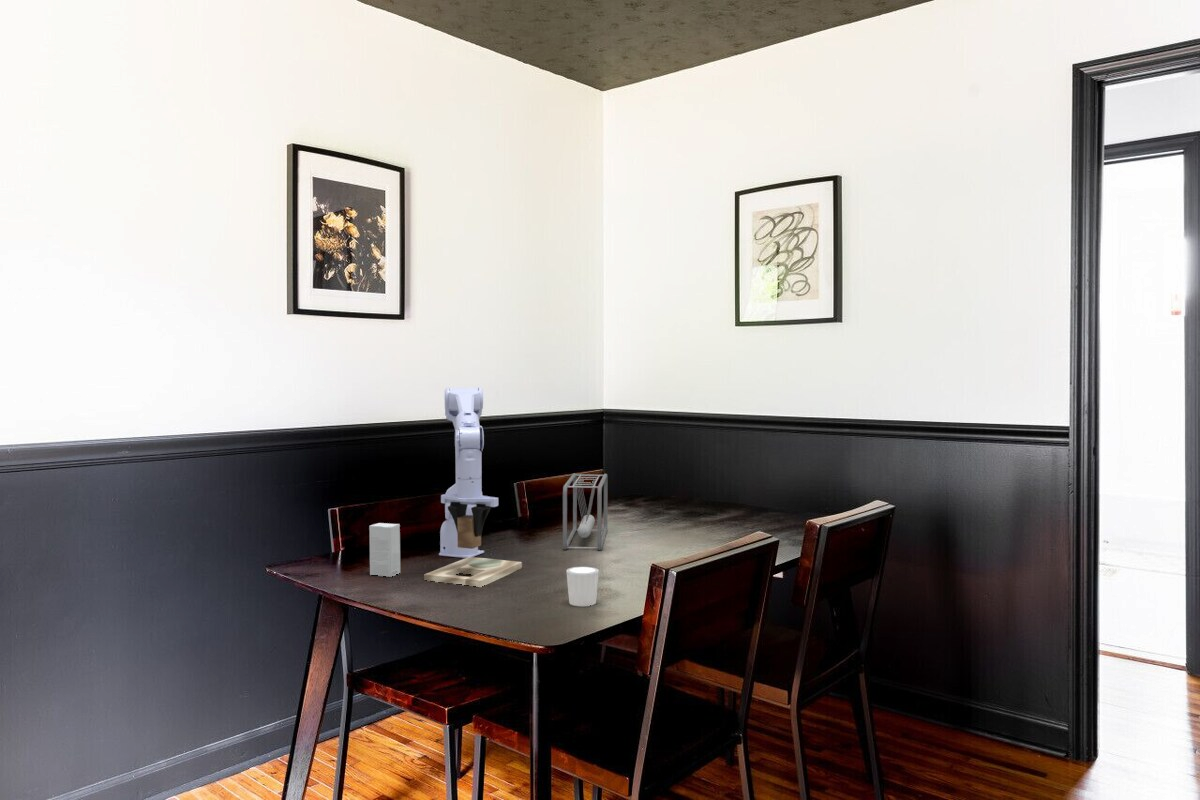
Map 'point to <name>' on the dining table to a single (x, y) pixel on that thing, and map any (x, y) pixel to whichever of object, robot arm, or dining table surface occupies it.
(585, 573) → the shot glass
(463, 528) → the block
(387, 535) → the skincare box
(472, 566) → the board
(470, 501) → the robot arm
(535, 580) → the dining table surface
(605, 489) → the newton's cradle
